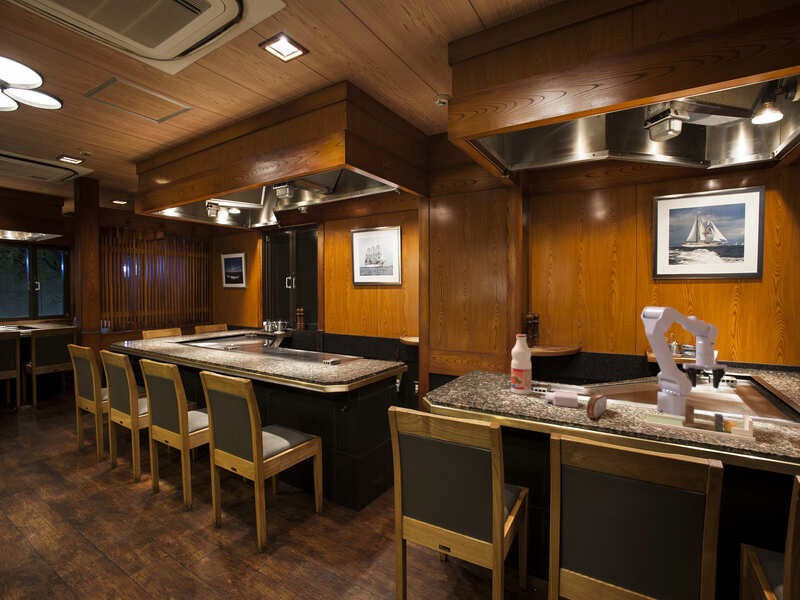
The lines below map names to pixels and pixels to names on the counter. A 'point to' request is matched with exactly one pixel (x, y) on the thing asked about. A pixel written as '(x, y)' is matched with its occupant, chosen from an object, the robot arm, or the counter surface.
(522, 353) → the fruit juice
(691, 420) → the striker
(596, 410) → the tin
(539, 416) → the counter surface
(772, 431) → the counter surface
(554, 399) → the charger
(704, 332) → the robot arm
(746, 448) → the counter surface
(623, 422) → the counter surface
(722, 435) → the pitch
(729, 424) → the ball
